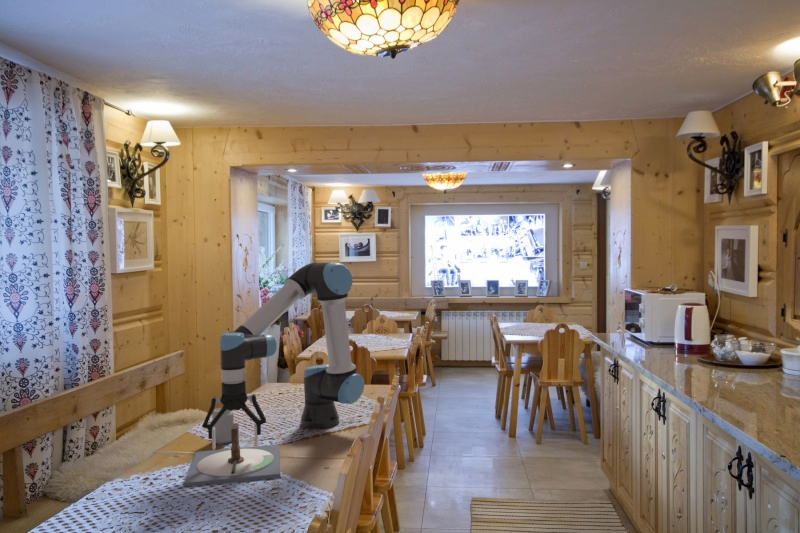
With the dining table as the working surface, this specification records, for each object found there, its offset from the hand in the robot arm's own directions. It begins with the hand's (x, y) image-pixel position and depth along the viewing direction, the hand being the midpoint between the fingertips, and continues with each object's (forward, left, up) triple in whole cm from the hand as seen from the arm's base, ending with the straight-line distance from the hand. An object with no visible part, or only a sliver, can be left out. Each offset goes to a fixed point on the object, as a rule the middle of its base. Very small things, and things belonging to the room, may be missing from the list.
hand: (235, 446), depth 195 cm
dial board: (0, 0, -6) cm, 6 cm away
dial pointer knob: (0, +5, -5) cm, 7 cm away
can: (+6, -27, -6) cm, 28 cm away
